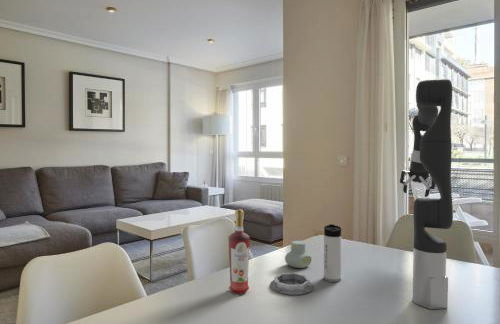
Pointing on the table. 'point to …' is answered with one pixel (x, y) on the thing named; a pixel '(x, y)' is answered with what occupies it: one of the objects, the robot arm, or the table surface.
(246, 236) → the liquor
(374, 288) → the table surface
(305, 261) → the air freshener
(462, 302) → the table surface
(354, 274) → the table surface
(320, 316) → the table surface
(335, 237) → the travel mug
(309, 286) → the collar
